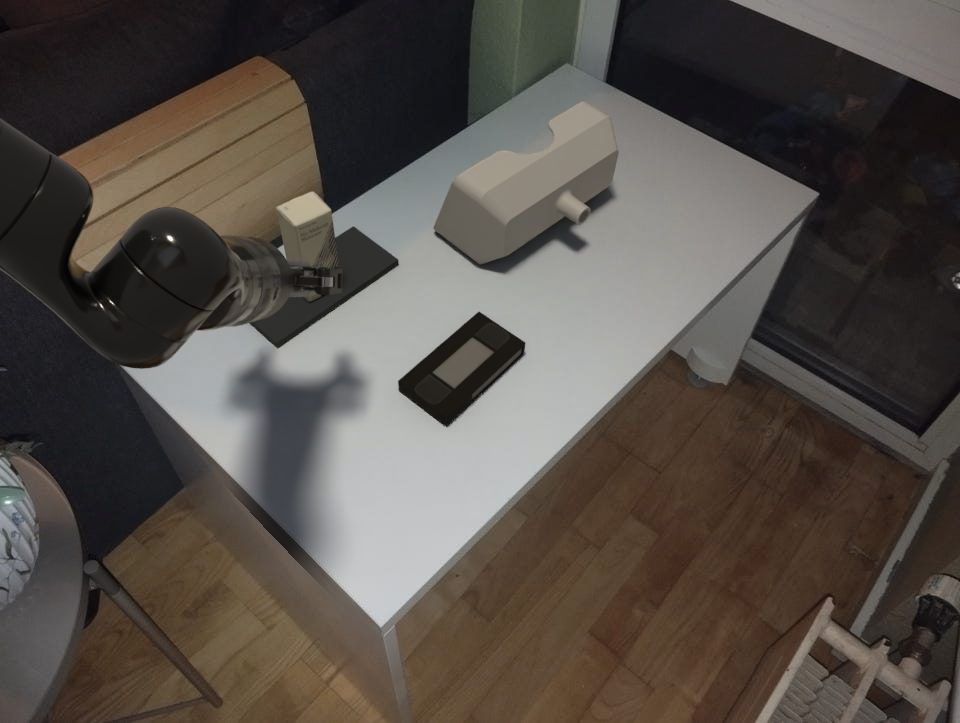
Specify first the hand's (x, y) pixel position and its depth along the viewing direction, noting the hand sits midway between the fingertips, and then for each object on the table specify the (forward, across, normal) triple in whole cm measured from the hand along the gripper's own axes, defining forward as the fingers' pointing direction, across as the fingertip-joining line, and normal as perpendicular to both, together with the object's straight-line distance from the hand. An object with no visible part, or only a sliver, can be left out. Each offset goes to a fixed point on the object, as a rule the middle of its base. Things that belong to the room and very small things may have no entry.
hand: (282, 275), depth 81 cm
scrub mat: (+18, 0, +2) cm, 18 cm away
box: (+17, 0, +2) cm, 17 cm away
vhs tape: (+9, -20, +11) cm, 24 cm away
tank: (+28, -28, -8) cm, 41 cm away
